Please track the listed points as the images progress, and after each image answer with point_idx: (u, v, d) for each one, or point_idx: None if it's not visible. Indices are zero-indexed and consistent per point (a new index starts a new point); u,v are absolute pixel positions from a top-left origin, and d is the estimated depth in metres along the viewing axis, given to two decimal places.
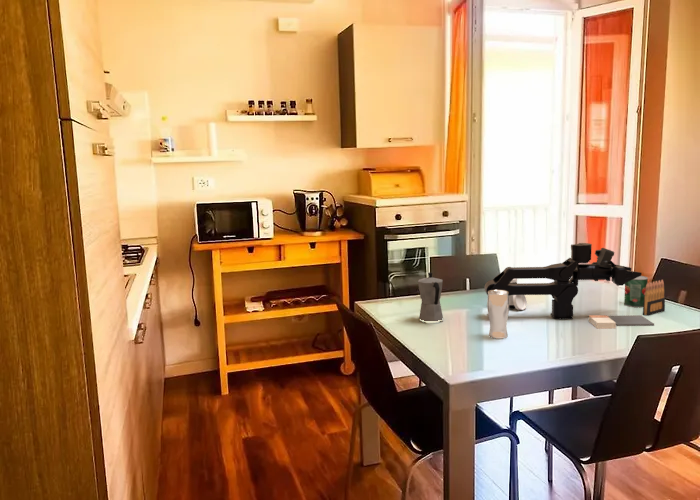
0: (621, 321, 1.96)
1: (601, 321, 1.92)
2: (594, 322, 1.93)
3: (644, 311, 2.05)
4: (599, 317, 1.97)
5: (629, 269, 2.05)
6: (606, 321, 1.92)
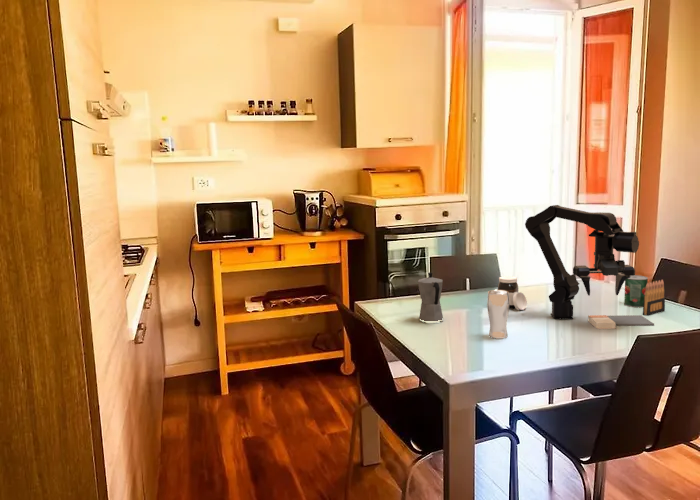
0: (621, 321, 1.96)
1: (601, 321, 1.92)
2: (594, 322, 1.93)
3: (644, 311, 2.05)
4: (598, 317, 1.97)
5: (616, 293, 1.93)
6: (606, 321, 1.92)
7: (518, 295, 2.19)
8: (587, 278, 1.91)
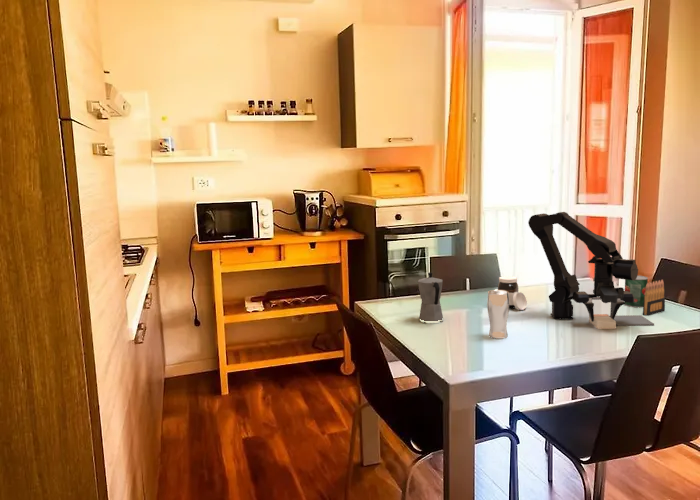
0: (621, 321, 1.96)
1: (601, 320, 1.92)
2: (594, 321, 1.93)
3: (644, 311, 2.05)
4: (599, 316, 1.97)
5: None
6: (606, 320, 1.92)
7: (518, 295, 2.19)
8: (591, 304, 1.92)
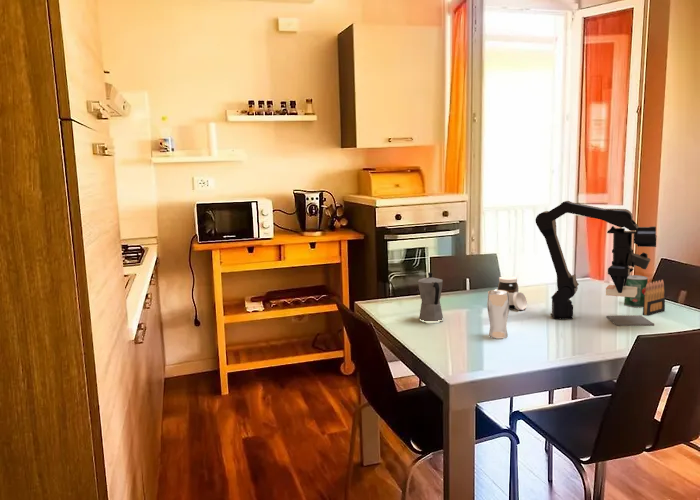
0: (621, 321, 1.96)
1: (630, 289, 1.92)
2: (625, 291, 1.91)
3: (644, 311, 2.05)
4: (615, 287, 1.95)
5: None
6: (631, 288, 1.93)
7: (518, 295, 2.19)
8: (628, 275, 1.89)
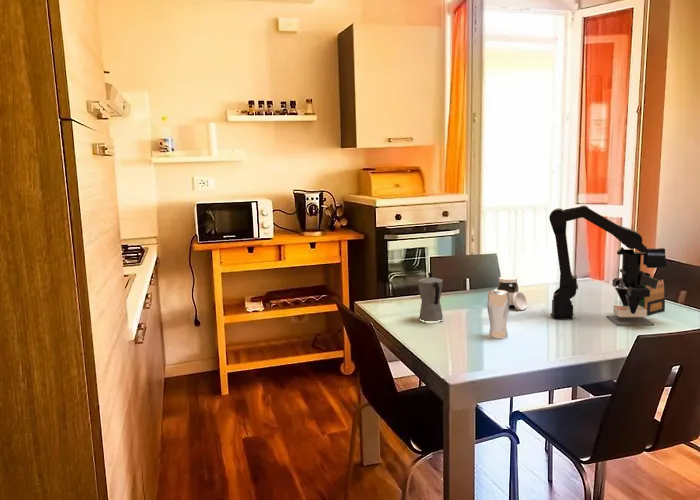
0: (621, 321, 1.96)
1: (640, 308, 1.96)
2: (638, 312, 1.94)
3: None
4: (624, 307, 1.97)
5: None
6: (638, 307, 1.97)
7: (518, 295, 2.19)
8: None
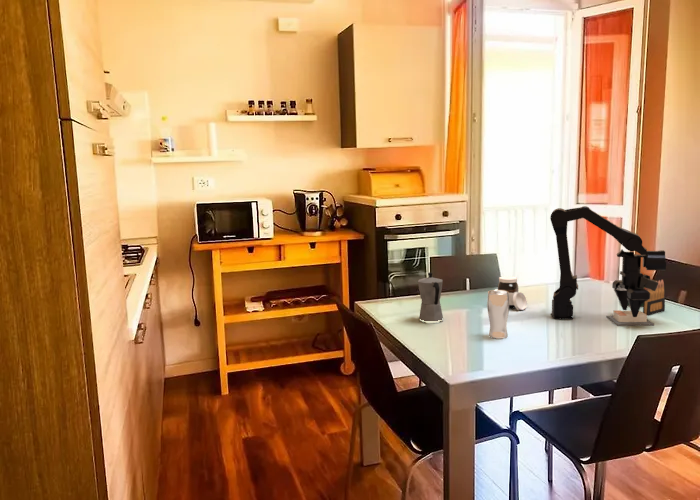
0: None
1: (639, 313, 1.96)
2: (638, 317, 1.94)
3: (644, 311, 2.05)
4: (624, 313, 1.97)
5: (624, 308, 2.02)
6: (638, 312, 1.97)
7: (518, 295, 2.19)
8: None
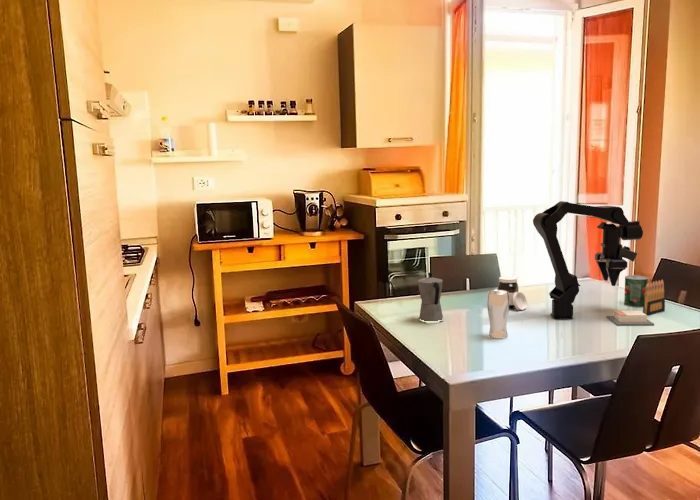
0: None
1: (639, 313, 1.96)
2: (638, 317, 1.94)
3: (644, 311, 2.05)
4: (624, 313, 1.97)
5: (605, 278, 2.10)
6: (638, 312, 1.97)
7: (518, 295, 2.19)
8: None
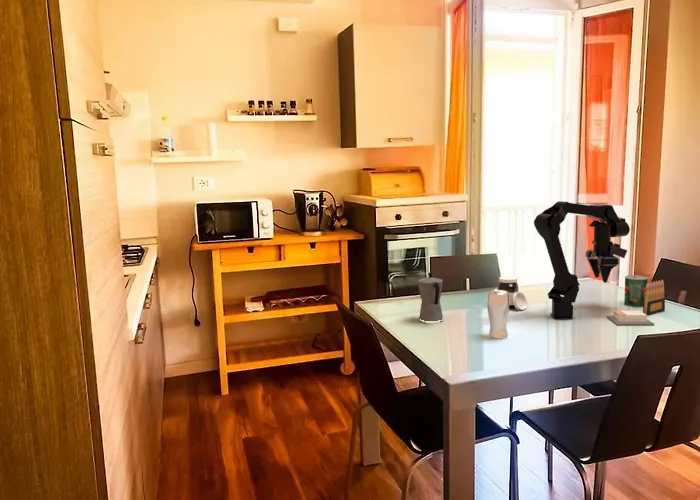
0: None
1: (639, 313, 1.96)
2: (638, 317, 1.94)
3: (644, 311, 2.05)
4: (624, 313, 1.97)
5: (596, 275, 2.15)
6: (638, 312, 1.97)
7: (518, 295, 2.19)
8: None
